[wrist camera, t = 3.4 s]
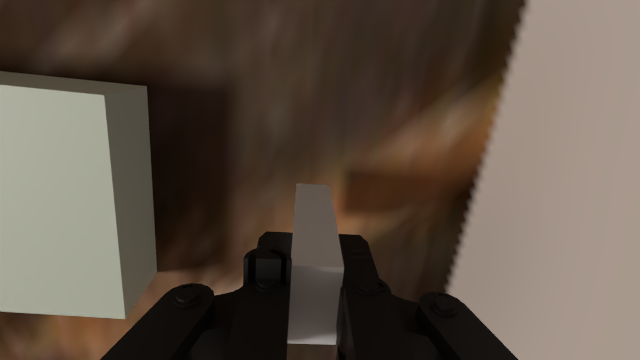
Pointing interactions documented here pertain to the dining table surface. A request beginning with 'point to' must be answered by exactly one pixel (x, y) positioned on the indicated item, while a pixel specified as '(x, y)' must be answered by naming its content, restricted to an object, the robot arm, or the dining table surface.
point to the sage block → (74, 196)
